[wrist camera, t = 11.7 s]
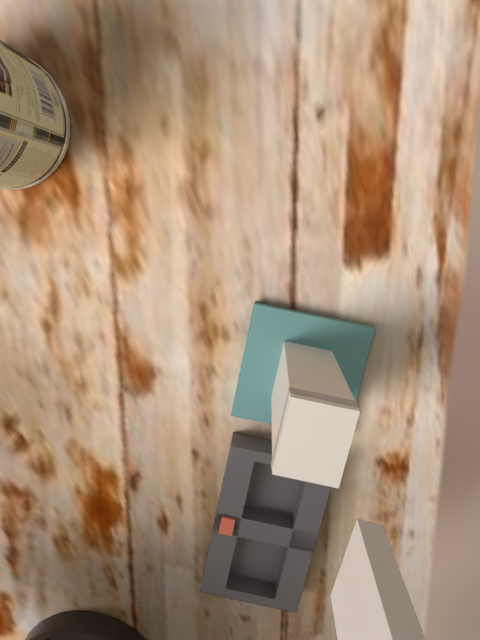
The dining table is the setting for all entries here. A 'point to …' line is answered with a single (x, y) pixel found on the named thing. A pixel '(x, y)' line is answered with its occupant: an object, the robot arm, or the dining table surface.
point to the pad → (300, 328)
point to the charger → (311, 416)
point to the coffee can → (29, 122)
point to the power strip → (262, 530)
